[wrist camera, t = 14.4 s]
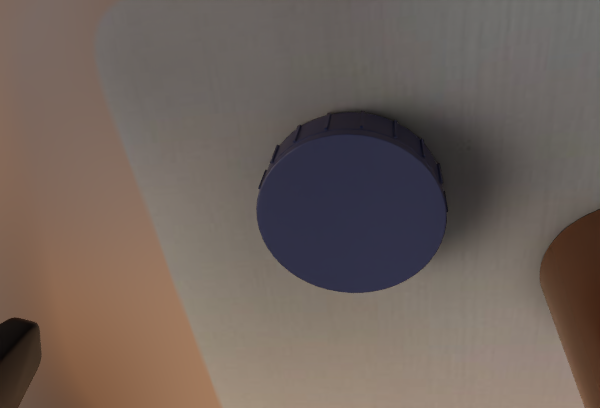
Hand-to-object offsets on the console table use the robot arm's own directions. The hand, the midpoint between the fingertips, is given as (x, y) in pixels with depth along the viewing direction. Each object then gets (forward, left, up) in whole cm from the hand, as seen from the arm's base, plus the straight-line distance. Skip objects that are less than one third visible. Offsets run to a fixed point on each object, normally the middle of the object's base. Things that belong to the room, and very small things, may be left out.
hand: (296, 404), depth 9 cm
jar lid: (+3, 0, -10) cm, 11 cm away
